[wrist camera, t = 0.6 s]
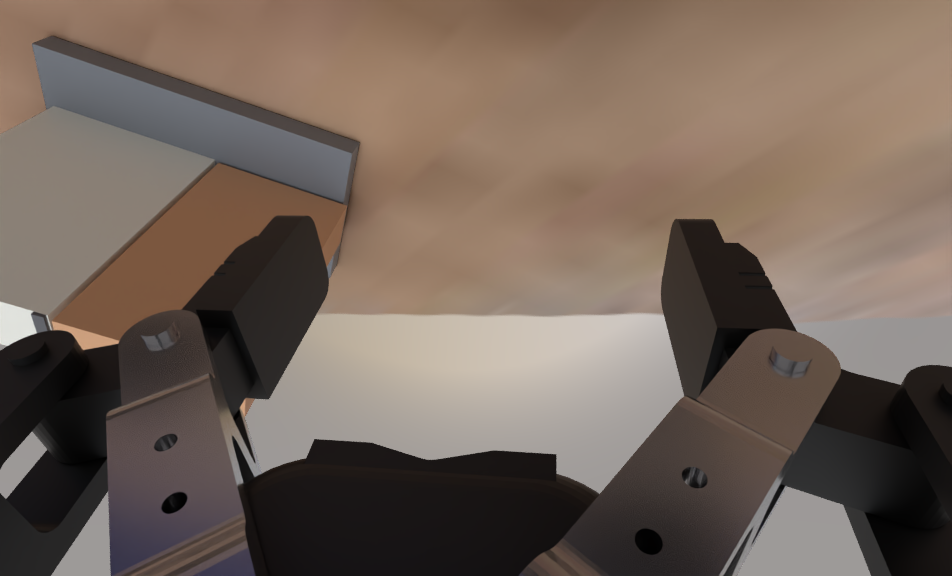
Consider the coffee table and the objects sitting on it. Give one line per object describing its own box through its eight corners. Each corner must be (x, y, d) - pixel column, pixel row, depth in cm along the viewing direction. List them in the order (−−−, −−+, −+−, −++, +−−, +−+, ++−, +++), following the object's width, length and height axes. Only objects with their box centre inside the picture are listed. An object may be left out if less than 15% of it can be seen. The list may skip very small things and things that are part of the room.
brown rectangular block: (218, 162, 33) (51, 320, 22) (347, 205, 34) (246, 378, 23) (218, 202, 35) (64, 366, 24) (340, 242, 35) (244, 417, 25)
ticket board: (51, 35, 31) (-275, 162, 19) (359, 142, 33) (242, 319, 21) (80, 182, 37) (-149, 347, 25) (336, 265, 39) (237, 454, 27)
